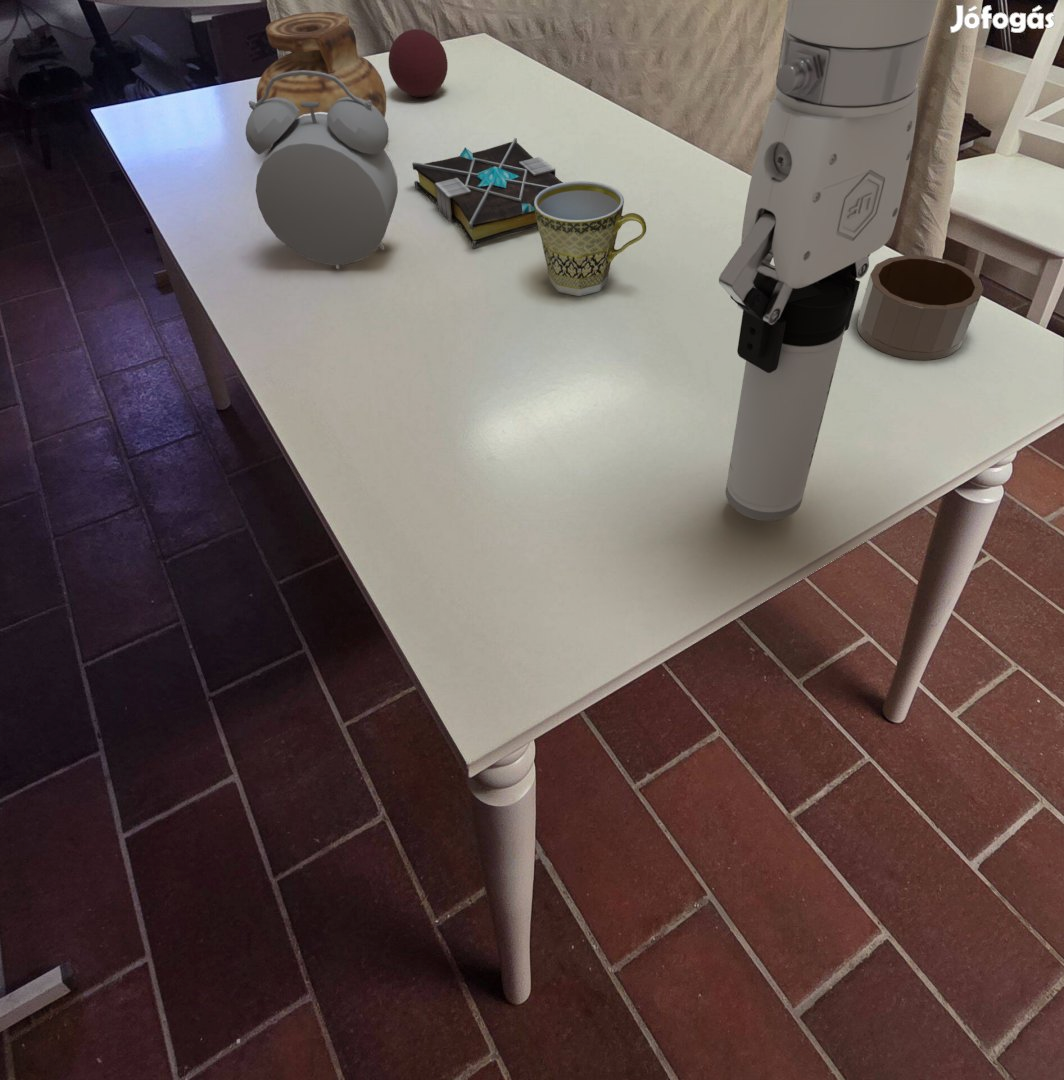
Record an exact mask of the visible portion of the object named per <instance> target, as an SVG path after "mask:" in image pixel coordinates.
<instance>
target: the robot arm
mask: <svg viewBox="0 0 1064 1080" xmlns="http://www.w3.org/2000/svg"><path fill="white" fill-rule="evenodd" d="M938 3H939V0H787V5H786V11H785V19H784V26H783V31H782V37H781V45H780V53H779V60H778V65H777V72H776V77H775V78H776V79H775V87H774V96H775V98H774V99H773V100H772V101H771V102H770V105H769V109H768V112H767V115H766V118H765V122H764V124H763V129H762V132H761V136H760V140H759V143H758V146H757V150H756V151H757V152H756V155H755V159H754V163H753V167H752V168H753V169H752V173H751V176H750V177H751V178H750V181H749V187H748V192H747V197H746V203H745V209H744V216H743V222H742V229H741V230H742V231H741V239H740V241H741V242H740V246H739V247H738V249H737V250H736V251H735V253H734V254H733V256H732V257H731V259H730V260H729V261H728V263H727V264H726V266H725V267H724V268H723V270H722V272H721V273H720V275H719V277H718V285H720V287H721V288H722V289H723V290H724V291H725V292H726V293H727V295H729V296H730V299H731V300H732V301H733V302H734V303H735V304H737V308H738V309H740V310H742V315H741V322H740V328H739V337H738V343H737V350H736V351H737V355H738V357H739V358H741V359H743V360H744V361H745V362H746V361H748V362H750V363H751V364H753V365H755V366H756V367H758V368H760V369H762V370H763V371H765V372H767V373H771V372H773V371H775V370H776V369H777V367H778V363H779V357H780V352H781V347H782V342H783V336H784V331H785V326H786V320H784V319H783V318H781V317H780V316H781V314H782V312H783V310H784V307H785V305H786V303H787V301H788V299H789V297H790V294H791V292H792V290H793V288H802V287H805V286H808V285H810V284H813V283H815V282H817V281H819V280H821V279H823V278H825V277H827V276H829V275H830V277H829V278H831V279H835V280H836V281H838V282H840V283H841V284H843V285H844V286H845V287H848V288H849V289H850V290H851V292H852V300H851V304H850V308H849V312H848V315H847V318H846V324H845V331H844V333H845V332H846V331H847V330H849V327H850V323H851V320H852V316H853V313H854V308H855V304H856V301H857V296H858V293H859V289H860V285H861V281H860V279H862V278H863V277H864V276H865V275H866V274H867V272H868V270H869V267H870V259H869V257H870V256H871V254H874V253H875V252H877V251H878V250H880V249H881V248H883V247H884V246H885V245H886V244H887V243H888V242H889V241H890V240H891V238H892V236H893V233H894V229H895V227H896V223H897V220H898V216H899V211H900V208H901V204H902V203H901V202H902V200H903V195H904V190H905V185H906V180H907V176H908V172H909V166H910V162H911V156H912V150H913V146H914V138H915V133H916V125H917V117H918V115H917V114H918V107H919V106H918V105H919V84H918V80H919V76H920V72H921V68H922V64H923V60H924V56H925V54H926V53H925V52H926V48H927V44H928V41H929V37H930V33H931V31H932V27H933V22H934V19H935V14H936V10H937V8H938V7H937V6H938ZM772 260H773V264H774V265H773V264H771V262H772ZM766 276H767V277H769V278H771V279H773V280H775V281H777V285H776V287H775V289H774V291H773V293H772V296H771V298H770V300H769V299H768V298H767V297H766V296H765V295H764V294H763V292H762V291H760V290H761V288H762V286H763V283H764V281H765V279H766Z"/></svg>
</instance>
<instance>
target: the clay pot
mask: <svg viewBox="0 0 1064 1080" xmlns="http://www.w3.org/2000/svg"><path fill="white" fill-rule="evenodd" d="M354 30H355V29H353V28H352V26H350V19H349V17H348V16H346V15H345V14H342V13H340V12H335V11H315V12H302V13H295V14H292V15H289V16H284V17H281V18H278V19H276V20H273V21H271V22H269V23H268V24H267V25H266V27H265V33H266V37H267V40H268V45H269V46H271V47H272V48H274V49H276V50H278V51H281V52H284V53H286V52H290V53H286V54H284V55H282V56H280V57H279V59H277V60H275V61H274V62H273V63H271V64H270V65H269V66H268V67H267V68H266V69H265V70H264V71H263V73H262V74H261V76H260V78H259V80H258V83H257V85H256V86H257V87H256V103H257V102H258V101H259V100H260V99H262V98H263V96H264V95H265V93H266V88H267V85H268V83H269V82H270V81H271V79H272V78H273V77H274V76H277V75H279V74H281V73H286V72H290V71H299V70H307V71H316V72H322V73H326V74H329V75H332V76H335V77H336V78H338V79H339V80H340V81H341V82H342V83H344V84H345V86H346V87H347V89H348V90H349V91H350V92H351V93H352V94H353V95H354V96H355V97H357V98H361V99H364V100H366V101H368V100H371V102H372V105H373V106H375V107H376V108H377V109H378V110H379V111H380V112H381V114H382V115H383V117H384V119H385V120H386V113H387V92H386V88H385V83H384V81H383V78H382V76H381V74H380V73H379V71H378V70H377V68H376V67H375V66H374V65H373V64H372V63H371V62H370V61H369V60H368V59H367V58H365V57H364V56H362V55H361V54H358V51H357V49H358V48H357V38H356V35H355V31H354ZM275 97H280V98H285V99H287V100H289V101H291V102H292V103H294V104H295V105H296V107H297V108H298V109H299V110H300V111H299V113H298V115H297V117H296V118H298V117H300V116H302V115H304V114H310V109H309V108H303V107H302V106H301V103H302V102H319V107H318V108H313V110H314V113H317V112H325V113H328V111H329V108H330V107H331V106H332V105H333V104H334V103H335V102H336V101H337V100H338V99H340V98H343V97H349V96H348V95H347V94H346V92H345V91H344V90H343V88H341V87H340V86H339V85H338V84H337V83H336V82H334V81H333V80H330V79H327V78H323V77H317V76H309V75H298V76H291V77H285V78H281V79H279V80H277V81H275V82H274V83H273V85H272V86H271V88H270V91H269V95H268V96H267V98H266V100H267V99H270V98H275ZM296 118H295V119H296Z"/></svg>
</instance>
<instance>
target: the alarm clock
mask: <svg viewBox="0 0 1064 1080" xmlns="http://www.w3.org/2000/svg"><path fill="white" fill-rule="evenodd" d="M298 75H309V76H317V77H323V78H327V79H330V80H333V81H334V82H336V83H337V84H338V85H339V86H340V87H341V88H343V90H344V91H345V92H346V94H347V95H348V96H349V97H343V98H340V99H338V100H337V101H336V102H335V103H334V104H333V105H332V106H331V107H330V108H329V111H328V113H325V112H317V113H314V110H313V108H318V107H319V102H302V103H301V106H302V107H303V108H309V109H310V114H304V115H302V116H300V117H298V118H296V117H297V115H298V113H299V111H300V110H299V109H298V108H297V107H296V105H295V104H294V103H292V102H291V101H289V100H287V99H285V98H280V97H275V98H270V99H267V100H266V98H267V96H268V95H269V91H270V88H271V86H272V85H273V83H274V82H275V81H277V80H279V79H281V78H285V77H291V76H298ZM248 105H249V107H250V109H251V110H252V111H251V112H250V114H249V117H248V118H247V121H246V125H245V139H246V141H247V143H248V145H249V146H250V148H251V149H252V151H254V152H255V154H256V155H261V154H263V153H264V152H266V151H267V150H268V149H269V151H268V153H267V154H266V156H265V158H264V159H263V161H262V164H261V165H260V168H259V170H258V172H257V174H256V184H255V194H256V195H255V196H256V201H257V206H258V209H259V211H260V214H261V215H262V218H263V220H264V222H265V224H266V225H267V227H269V229H270V230H271V232H272V233H273V234H274V236H275V237H276V238H277V239H278V240H279V241H280V242H282V243H283V244H284V245H285V246H286V247H287V248H288V249H289V250H291V251H293V252H294V253H297V254H298V255H300V256H302V257H303V258H305V259H308V260H311V261H314V262H317V263H318V264H319V263H320V264H324V265H325V264H327V265H333V266H335V268H336V269H337V270H338V269H340V268H341V265H350V264H354V263H356V262H359V261H361V260H363V259H366V258H367V257H368V256H370V255H371V254H372V253H374V251H376V250H377V249H378V247H379V249H381V250H382V251H384V250H385V249H386V248H385V245H384V244H383V242H382V241H383V239H384V238H385V235H386V232H387V229H388V226H389V223H390V221H391V217H392V214H393V212H394V209H395V206H396V202H397V197H398V193H399V183H398V174H397V171H396V167H395V164H394V162H393V159H392V157H391V155H390V154H389V152H388V150H387V149H386V147H387V144H388V143H389V142H388V141H389V125H388V122H387V121H386V118H385V119H384V117H383V115H382V114H381V112H380V111H379V110H378V109H377V108H376V107H375V106H373V105H372V102H371V100H368V101H366V100H364V99H361V98H357V97H355V96H354V95H353V94H352V93H351V92H350V91H349V90H348V89H347V87H346V86H345V84H344V83H342V82H341V81H340V80H339V79H338V78H336V77H335V76H332V75H329V74H326V73H322V72H316V71H307V70H299V71H290V72H286V73H281V74H279V75H277V76H274V77H273V78H272V79H271V81H270V82H269V83H268V85H267V88H266V93H265V95H264V96H263V98H262V99H260V100H259V101H258V102H257V101H256V102H255V101H252V100H249V101H248ZM295 118H296V119H295Z"/></svg>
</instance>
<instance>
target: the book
mask: <svg viewBox="0 0 1064 1080" xmlns="http://www.w3.org/2000/svg"><path fill="white" fill-rule="evenodd" d="M412 170H413V171H417V174H418V175H417V176H418V180H415V181H414V182H413V183H414V188H415V189H419V190H422V192H424V193H425V194H426V195H427V196H428V197H430V198H431V199H432V200H433V201H434V202H436V203H437V209H438V210H439V211H440V213H441V214H442V215H443V216H444V217H446V218H447V220H448V221H449V222H450V223H455V222H456V223H457V225H459V226H460V227H461V229H462V230H463V232H464V233H465V235H466V236H467V237H468V239H469V241H470V242H471V244H472V249H476V248H477V246H478V245H481V244H484V243H487V242H490V241H493V240H497V239H499V238H503V237H505V236H509V235H513V234H517V233H521V232H525V231H528V230H532V229H536V228H537V229H538V224H537V219H536V214H535V207H534V201H535V198H536V196H537V195H538V194H539V193H540V192H541V191H543V190H544V189H546V188H548V187H550V186H553V185H556V184H560V183H564V181H561V180H560V179H559V178H558V177H557V176H556V168H554V166H552V165H551V164H550V163H548V162H547V161H546V160H544V159H543V158H542V157H540V156H537V157H533V156H532V155H531V154H530V153H529V152H528V151H527V150H526V149H524V148H523V146H522V145H521V144H520V143H518V138H517V137H513V140H512V141H510V142H506V143H503V144H499V145H496V146H494V147H490V148H487V149H483V150H479V151H478V150H477V151H474V152H472V151H471V150H470V149H468V147H466V146H465V147H464V148H463V150H462V151H461V153H460V155H458V156H454V157H450V158H446V159H441V160H437V161H431V162H425V163H420V162H412Z"/></svg>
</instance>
